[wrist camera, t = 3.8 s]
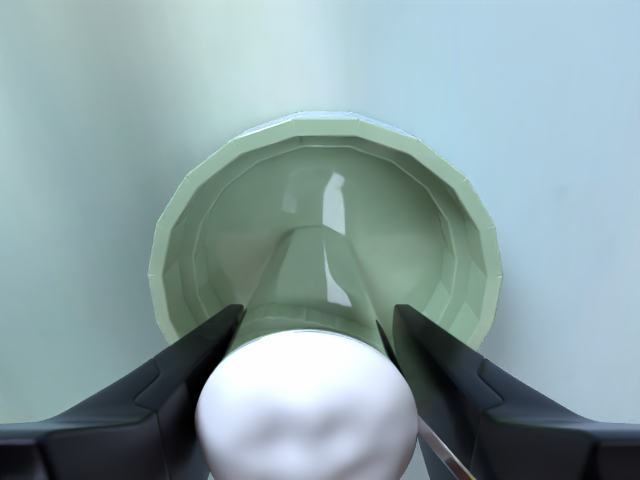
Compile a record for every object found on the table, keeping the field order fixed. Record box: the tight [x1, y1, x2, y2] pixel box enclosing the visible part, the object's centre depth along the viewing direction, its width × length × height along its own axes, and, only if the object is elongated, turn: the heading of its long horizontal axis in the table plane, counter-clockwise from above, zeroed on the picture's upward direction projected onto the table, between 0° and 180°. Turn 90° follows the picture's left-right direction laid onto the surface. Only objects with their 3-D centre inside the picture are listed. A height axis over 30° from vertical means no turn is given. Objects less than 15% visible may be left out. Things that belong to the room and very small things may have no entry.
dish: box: [148, 111, 503, 356], centre depth 14 cm, size 11×11×3 cm
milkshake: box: [194, 226, 476, 480], centre depth 11 cm, size 5×5×10 cm
